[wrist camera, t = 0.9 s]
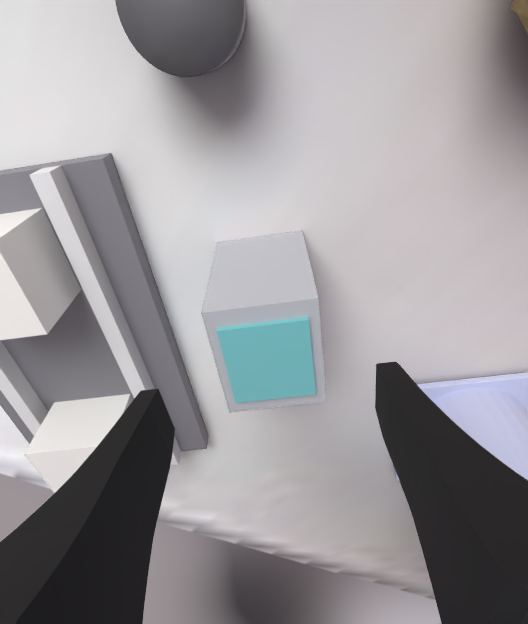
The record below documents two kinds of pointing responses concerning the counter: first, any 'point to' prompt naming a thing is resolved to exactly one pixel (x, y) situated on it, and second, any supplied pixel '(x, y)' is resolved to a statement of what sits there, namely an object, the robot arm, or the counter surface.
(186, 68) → the knob
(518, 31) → the counter surface
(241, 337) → the module
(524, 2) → the sponge
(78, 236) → the rail board
